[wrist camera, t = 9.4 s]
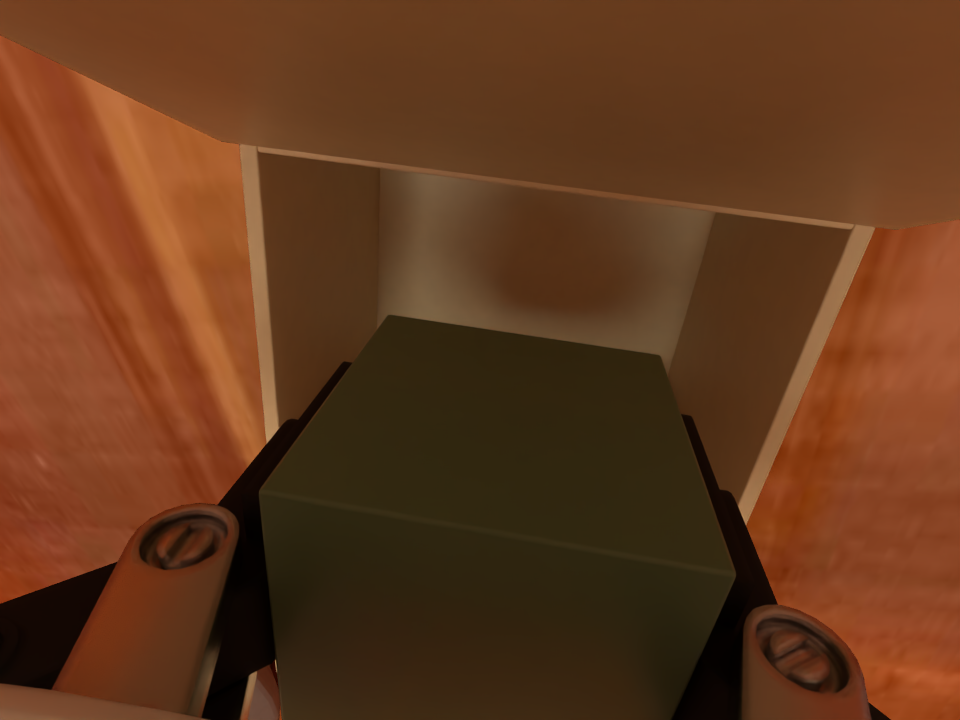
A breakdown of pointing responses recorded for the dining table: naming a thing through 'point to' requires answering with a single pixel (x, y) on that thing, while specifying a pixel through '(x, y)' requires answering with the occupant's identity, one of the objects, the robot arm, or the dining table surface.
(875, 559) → the dining table surface
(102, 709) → the robot arm
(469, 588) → the block
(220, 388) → the dining table surface
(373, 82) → the flap
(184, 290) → the dining table surface
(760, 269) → the carton
